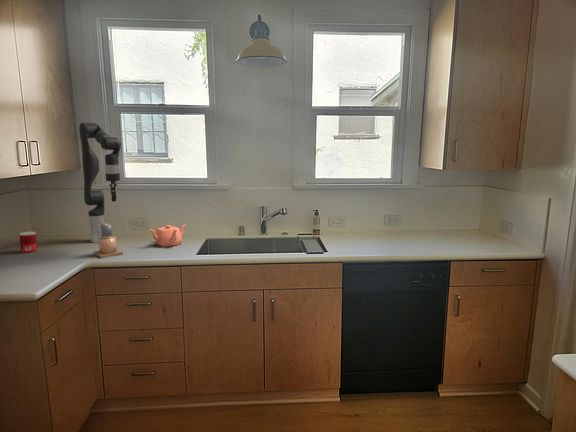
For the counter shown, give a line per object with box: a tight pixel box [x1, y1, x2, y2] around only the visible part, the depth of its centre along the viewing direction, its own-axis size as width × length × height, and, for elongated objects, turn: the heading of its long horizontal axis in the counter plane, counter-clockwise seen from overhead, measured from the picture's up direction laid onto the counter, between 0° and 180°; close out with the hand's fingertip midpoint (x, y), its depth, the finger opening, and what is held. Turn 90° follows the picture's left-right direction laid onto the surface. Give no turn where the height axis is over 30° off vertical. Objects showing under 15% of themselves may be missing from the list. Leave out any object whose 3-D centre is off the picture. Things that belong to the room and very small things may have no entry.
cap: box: [101, 223, 113, 236], centre depth 215 cm, size 7×6×6 cm
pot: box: [148, 224, 187, 248], centre depth 240 cm, size 18×17×12 cm
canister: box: [93, 235, 124, 259], centre depth 216 cm, size 12×12×12 cm
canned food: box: [18, 231, 38, 254], centre depth 219 cm, size 8×8×11 cm
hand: (114, 200), depth 220 cm, fingers open, 8 cm apart
